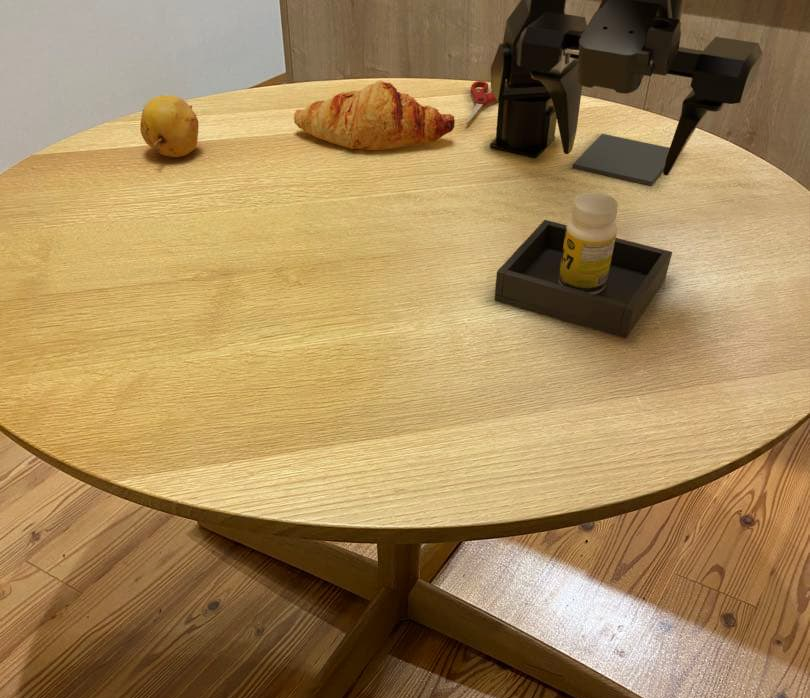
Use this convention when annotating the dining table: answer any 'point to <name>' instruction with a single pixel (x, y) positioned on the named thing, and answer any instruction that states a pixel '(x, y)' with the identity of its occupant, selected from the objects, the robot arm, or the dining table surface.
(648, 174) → the mat
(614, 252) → the tray
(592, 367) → the dining table surface
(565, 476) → the dining table surface
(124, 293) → the dining table surface
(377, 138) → the croissant
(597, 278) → the supplement bottle
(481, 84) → the scissors
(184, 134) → the fruit
